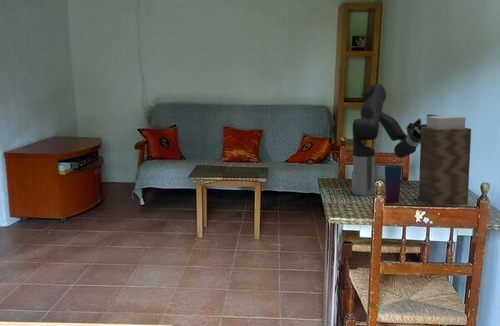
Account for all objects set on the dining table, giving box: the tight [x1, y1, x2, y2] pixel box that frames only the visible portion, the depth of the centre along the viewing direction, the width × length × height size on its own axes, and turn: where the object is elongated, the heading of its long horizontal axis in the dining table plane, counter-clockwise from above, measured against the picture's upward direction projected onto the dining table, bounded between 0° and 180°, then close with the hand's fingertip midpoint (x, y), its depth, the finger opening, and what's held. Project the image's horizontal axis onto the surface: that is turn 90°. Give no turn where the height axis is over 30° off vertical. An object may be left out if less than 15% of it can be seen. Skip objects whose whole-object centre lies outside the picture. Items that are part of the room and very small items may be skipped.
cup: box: [384, 163, 403, 204], centre depth 191 cm, size 7×7×15 cm
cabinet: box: [418, 127, 472, 206], centre depth 188 cm, size 14×14×30 cm
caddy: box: [426, 113, 466, 130], centre depth 190 cm, size 11×21×6 cm, turn 2°
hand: (429, 120), depth 200 cm, fingers open, 8 cm apart
